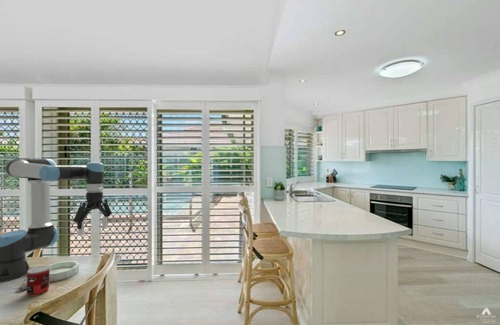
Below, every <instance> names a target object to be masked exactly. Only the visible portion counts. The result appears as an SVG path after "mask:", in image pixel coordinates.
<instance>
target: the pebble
mask: <svg viewBox="0 0 500 325" xmlns="http://www.w3.org/2000/svg"><path fill="white" fill-rule="evenodd" d="M20 288H21V289H22V290H27V281H25V282H23V281H22V283H21V284H20Z"/></svg>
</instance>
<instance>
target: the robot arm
mask: <svg viewBox="0 0 500 325" xmlns="http://www.w3.org/2000/svg"><path fill="white" fill-rule="evenodd" d="M4 171H5V173H6V174H7V175H8V176H9V177H11V178H12V177H13V178H17V179H27V182H28V183H29V184H30V188H31V189H30V192H31V195H30V198H31V201H30V202H31V203H30V204H31V206H30V207H31V211H30V212H31V214H30V215H31V221H30V222H31V223H30V225H29V226H28V227H27V230H26V229H17V230H12V231H11V230H10V231H8V232H5V233H3V234H0V282H7V281H12V280H16V279H19V278H21V277H24V276H27V271H28V270H30V265H29V263H28V261H27V258H26V255H27V254H26V253H29V252H32V251H33V252H34V251H38V250H40V249H45V248H48V247H50V246H53V245H54V244H55V243H56V242H57V241H58V239H59V235H60V234H59V233H60V232H59V230H58V227H57V226H55V225H54V223H53V222H52V221H51V183H52V182H56V181H59V182H60V181H80V180H82V181H86V186H85V191H86V193H85V199H86V202H83V201H81V202H80V203H79V208H78V209H77V212H76V213H75V216H74V217H73V219H72V222H75V223H76V229H77V230H78V232H77V236H84V234H85V232H84V231H85V222H84V220H86V217H87V216H88V214H89V213H90V212H91V211H92V210H99V212H100V213H101V214H102V215H103V216H102V222H101V225H102V226H101V227H102V229H105V230H106V229H108V222H109V217H110V216H111V215H112V214H113V213H112V211H111V208H110V206H109V203H108V199H107V198H104V193H103V191H104V174H105V172H104V171H105V169H104V163H103V162H87V163H86V165H57V163H56V162H55V161H54V160H53V159H50V158H43V157H42V158H40V157H38V158H34V157H32V158H30V157H18V158H14V159H11V160H9V161H8V162H7V163H6V165H4Z"/></svg>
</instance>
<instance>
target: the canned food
mask: <svg viewBox="0 0 500 325" xmlns="http://www.w3.org/2000/svg"><path fill="white" fill-rule="evenodd" d="M26 279H27V289H26V296H28V297H34V296H40V295H43V294H45V293H46V292H48V290H49V289H50V282H49V266H47V265H40V266H35V267H32V268H29V270H28V271H27V274H26Z"/></svg>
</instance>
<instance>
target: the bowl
mask: <svg viewBox="0 0 500 325" xmlns="http://www.w3.org/2000/svg"><path fill="white" fill-rule="evenodd" d="M46 266H49V283H50V282H57V281H61V280H65V279H68V278H71V277H73V276H75V275H76V274H77V273H78V272H79V270H80V269H79V268H80V265H79V262H78V261H75V260H63V261H58V262H54V263H51V264H47V265H46Z"/></svg>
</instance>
